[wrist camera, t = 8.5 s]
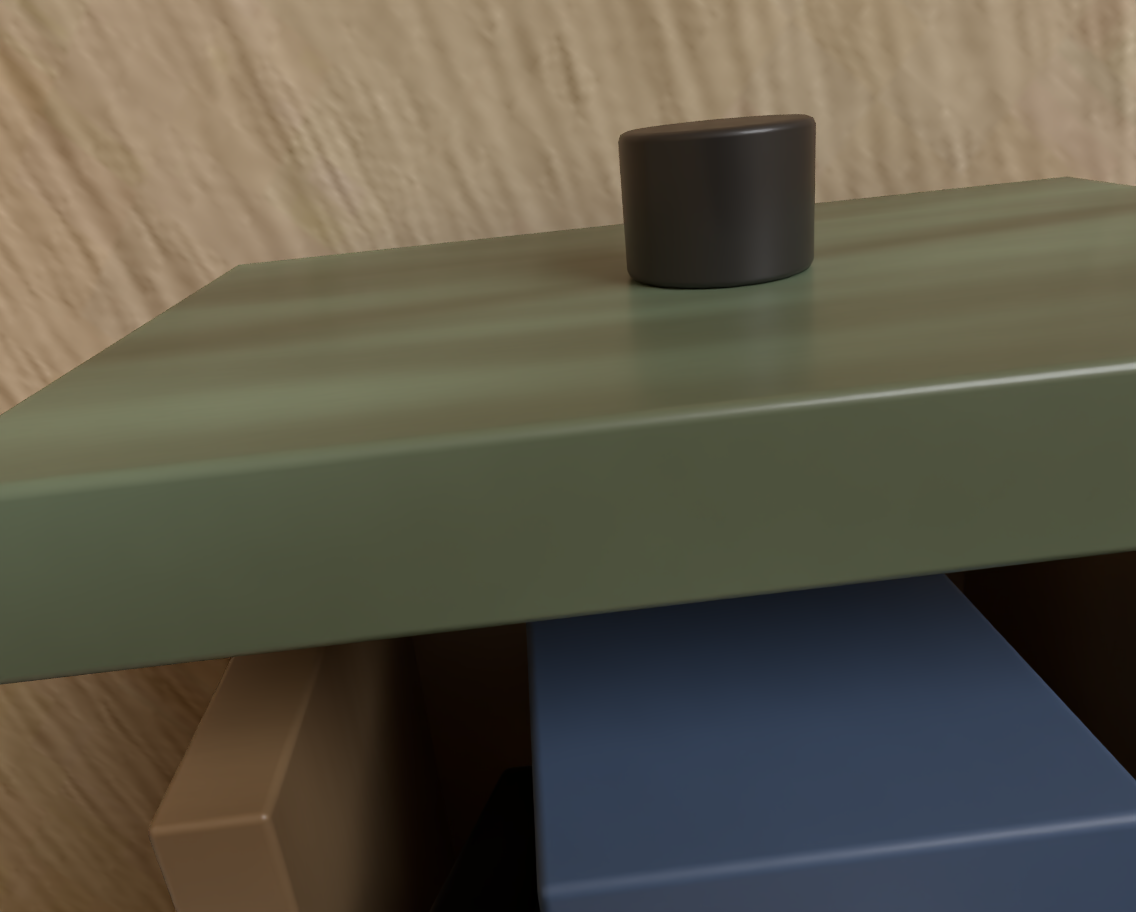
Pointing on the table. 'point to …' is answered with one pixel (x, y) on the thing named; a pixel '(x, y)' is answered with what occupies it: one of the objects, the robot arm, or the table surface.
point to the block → (816, 762)
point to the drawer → (568, 481)
